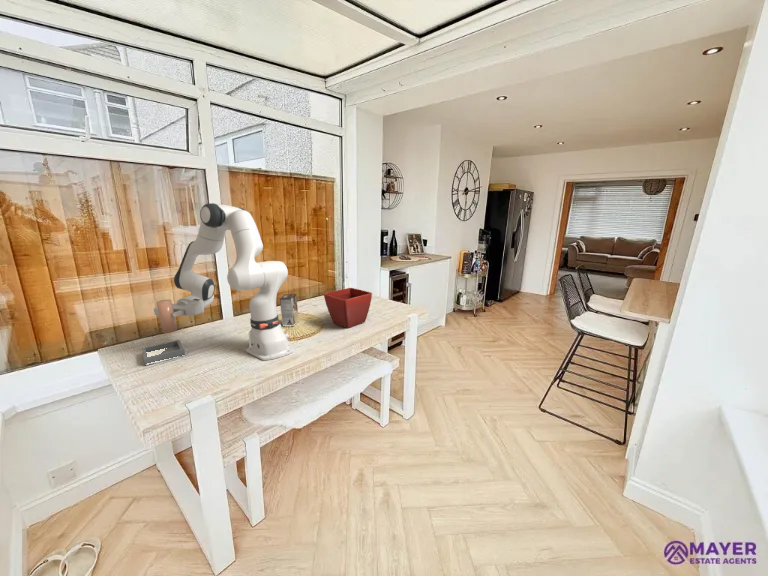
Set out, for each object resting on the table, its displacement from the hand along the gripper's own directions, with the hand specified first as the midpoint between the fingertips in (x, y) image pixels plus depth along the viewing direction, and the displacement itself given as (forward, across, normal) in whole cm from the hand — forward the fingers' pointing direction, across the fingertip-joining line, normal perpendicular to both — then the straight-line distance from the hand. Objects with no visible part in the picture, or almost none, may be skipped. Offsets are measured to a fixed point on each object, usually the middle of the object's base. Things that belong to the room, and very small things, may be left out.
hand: (165, 315), depth 140 cm
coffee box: (-35, +42, +17) cm, 57 cm away
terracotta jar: (-1, 0, +8) cm, 8 cm away
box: (+5, 0, +17) cm, 17 cm away
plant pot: (-39, +74, +17) cm, 85 cm away
